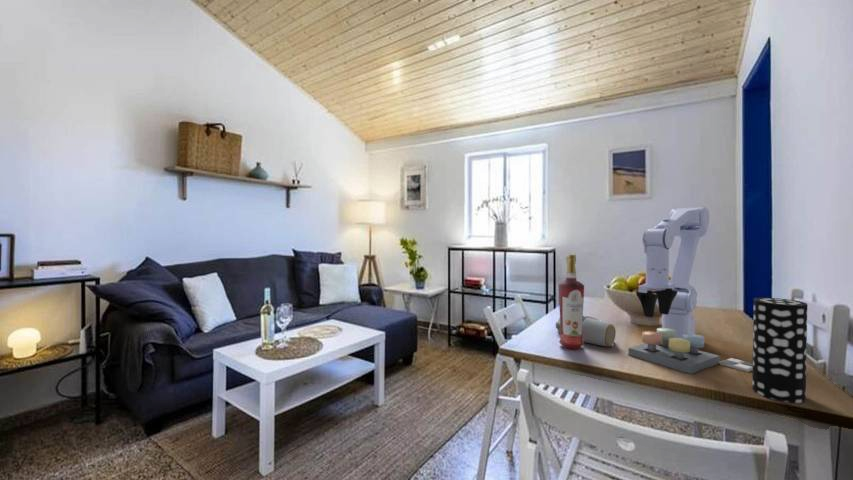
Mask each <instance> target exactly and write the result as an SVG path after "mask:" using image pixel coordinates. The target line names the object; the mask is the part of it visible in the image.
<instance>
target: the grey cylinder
mask: <svg viewBox="0 0 853 480" xmlns="http://www.w3.org/2000/svg"><path fill="white" fill-rule="evenodd" d="M599 320H600V319H599ZM599 320H595V319H592V318H586V319H585V320H584V321H583V324H582V342H584V343H586V344H592V345H596V346H601V347H605V348H606V347H607V348H609V347H612V346H613V344H614V343H615V339H616V333H617V332H616V327H615V326H614V325H613V324H612V323H611V322H610V323H609V322H606V321H603V320H600V321H599Z"/></svg>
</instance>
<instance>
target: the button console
mask: <svg viewBox="0 0 853 480" xmlns="http://www.w3.org/2000/svg"><path fill="white" fill-rule="evenodd" d="M628 355H629V356H630V357H635V358H637V359H641V360H644V361H647V362H650V363H654V364H657V365H661V366H664V367H667V368H671V369H672V370H673V369H675V370H677V371H681V372H684V373H687V374H689V375H692V374H694V373H697V372H700V371H703V370H705V369H708V368H710V367H712V366H717V365H719V364H720V355H718V354H714V353H712V352H711V353H710V352H707V351H703V350H699V349H698V355H692V354H689V352H684V360H678V359H675V351H673V350H670V349H669V348H665V347H662V344H661V345H656V352H650V351H648V344H646V343H644V342H643V343H641V344H638V345H634V346H631V347H628Z"/></svg>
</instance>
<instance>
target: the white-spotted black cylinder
mask: <svg viewBox="0 0 853 480" xmlns="http://www.w3.org/2000/svg"><path fill="white" fill-rule="evenodd" d="M808 306H809V305H808V303H807V302H804V301H799V300H794V299H787V298H777V297H776V298H775V297H754V298H753V317H752V318H753V320H752V321H753V325H752V330H753V331H752V332H753V333H752V363H753V370H752V382H751V383H752V385H751V386H752V391H753V392H755V393H756V394H758V395H760V396H763V397H765V398H767V399H770V400H775V401H779V402H785V403H792V404H793V403H795V404H799V403H805V402H806V400H807V397H806V395H807V393H806V392H807V391H806V390H807V351H808V350H807V346H808V344H807V343H808Z"/></svg>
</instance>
